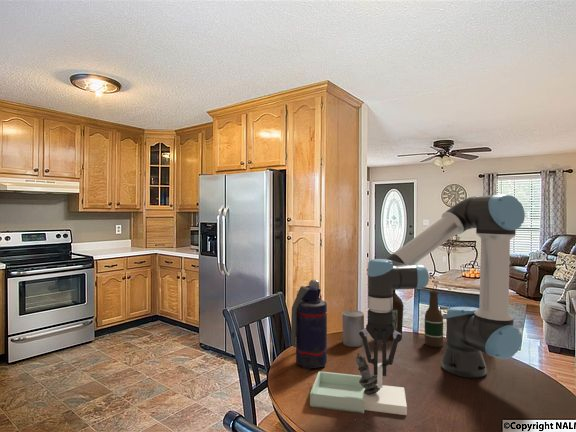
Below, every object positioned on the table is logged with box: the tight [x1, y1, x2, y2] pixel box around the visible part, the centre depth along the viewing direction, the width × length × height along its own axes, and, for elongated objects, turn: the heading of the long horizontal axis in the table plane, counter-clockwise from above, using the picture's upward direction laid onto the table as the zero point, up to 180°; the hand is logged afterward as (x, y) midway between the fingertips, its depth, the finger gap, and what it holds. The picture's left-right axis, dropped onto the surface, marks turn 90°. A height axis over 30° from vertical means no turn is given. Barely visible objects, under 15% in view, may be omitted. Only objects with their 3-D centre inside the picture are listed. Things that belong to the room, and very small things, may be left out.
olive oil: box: [387, 290, 404, 342], centre depth 171 cm, size 11×11×25 cm
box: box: [309, 370, 365, 414], centre depth 116 cm, size 16×16×4 cm
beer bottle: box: [424, 289, 444, 348], centre depth 162 cm, size 8×8×24 cm
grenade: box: [290, 285, 328, 371], centre depth 140 cm, size 14×12×30 cm
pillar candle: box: [342, 309, 365, 348], centre depth 164 cm, size 10×10×15 cm
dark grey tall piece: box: [355, 352, 380, 395], centre depth 114 cm, size 6×6×12 cm
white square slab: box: [364, 384, 408, 416], centre depth 112 cm, size 12×12×2 cm
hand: (379, 385), depth 112 cm, fingers closed
